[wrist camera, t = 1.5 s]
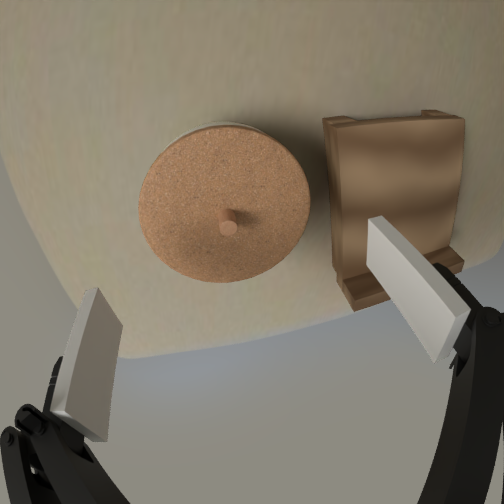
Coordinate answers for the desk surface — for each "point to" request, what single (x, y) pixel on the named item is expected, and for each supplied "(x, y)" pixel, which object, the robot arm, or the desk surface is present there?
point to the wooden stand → (392, 191)
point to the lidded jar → (224, 203)
